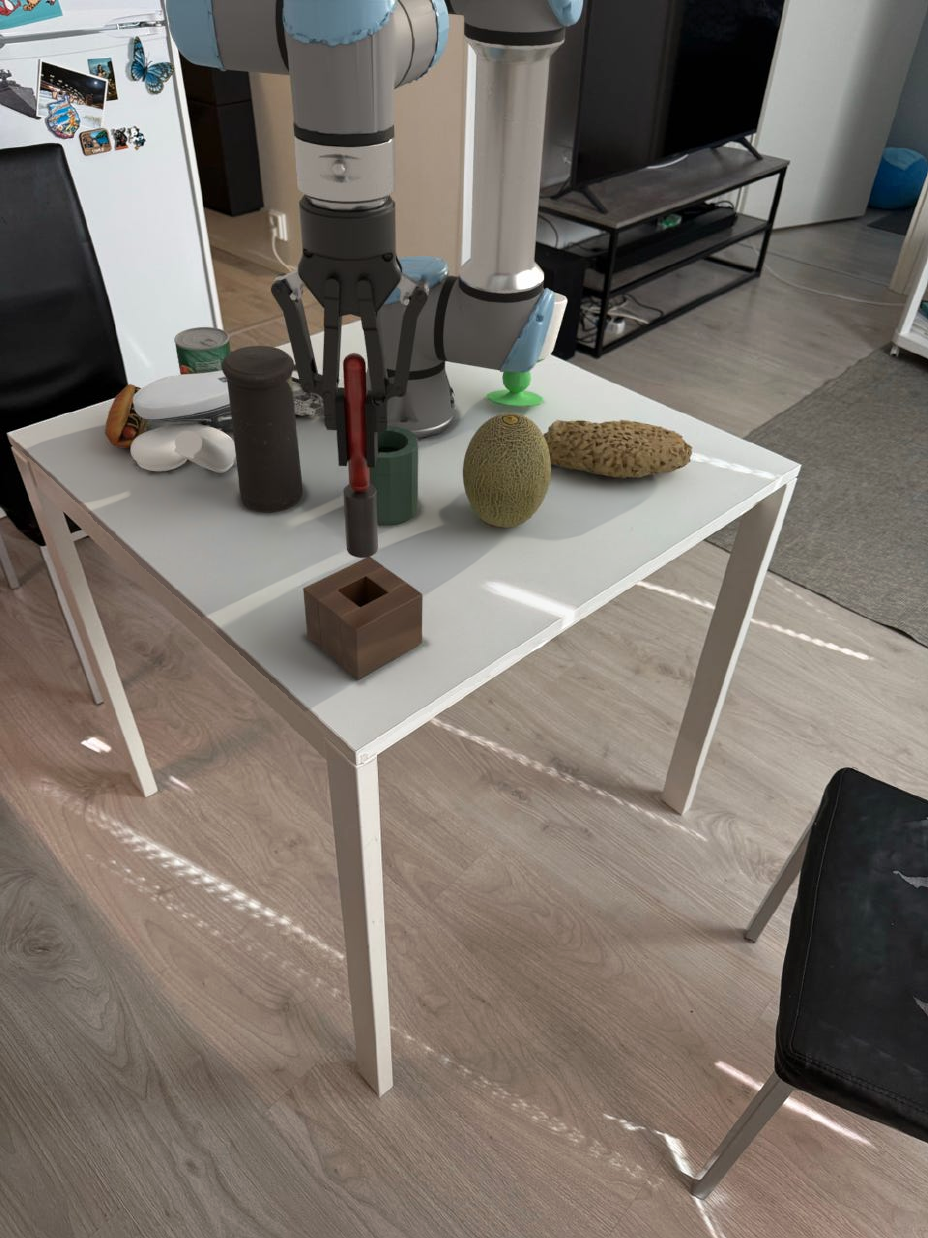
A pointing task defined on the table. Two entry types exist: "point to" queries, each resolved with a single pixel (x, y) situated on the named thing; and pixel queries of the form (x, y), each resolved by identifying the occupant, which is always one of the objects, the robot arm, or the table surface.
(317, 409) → the house of cards
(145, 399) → the boat shoe
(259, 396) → the container
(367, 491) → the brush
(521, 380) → the cup
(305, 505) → the table surface
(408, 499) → the green hollow cylinder
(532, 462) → the fruit
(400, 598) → the holder
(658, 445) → the sponge
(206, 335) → the canned tomato
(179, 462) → the sculpture
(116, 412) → the hot dog
